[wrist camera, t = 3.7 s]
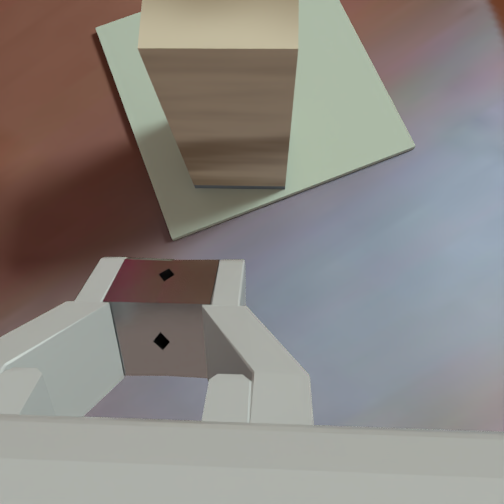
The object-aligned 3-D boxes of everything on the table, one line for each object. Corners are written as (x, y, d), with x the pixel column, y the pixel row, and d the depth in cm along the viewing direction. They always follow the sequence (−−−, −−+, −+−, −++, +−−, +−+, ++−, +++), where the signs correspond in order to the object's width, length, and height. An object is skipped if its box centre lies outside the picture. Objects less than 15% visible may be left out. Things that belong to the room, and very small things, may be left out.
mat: (173, 240, 28) (171, 239, 28) (97, 32, 32) (95, 28, 32) (413, 148, 29) (415, 145, 29) (312, -44, 33) (313, -49, 32)
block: (284, 189, 28) (298, 48, 16) (195, 188, 29) (137, 48, 16) (285, 108, 30) (299, -83, 17) (200, 107, 30) (150, -81, 17)
